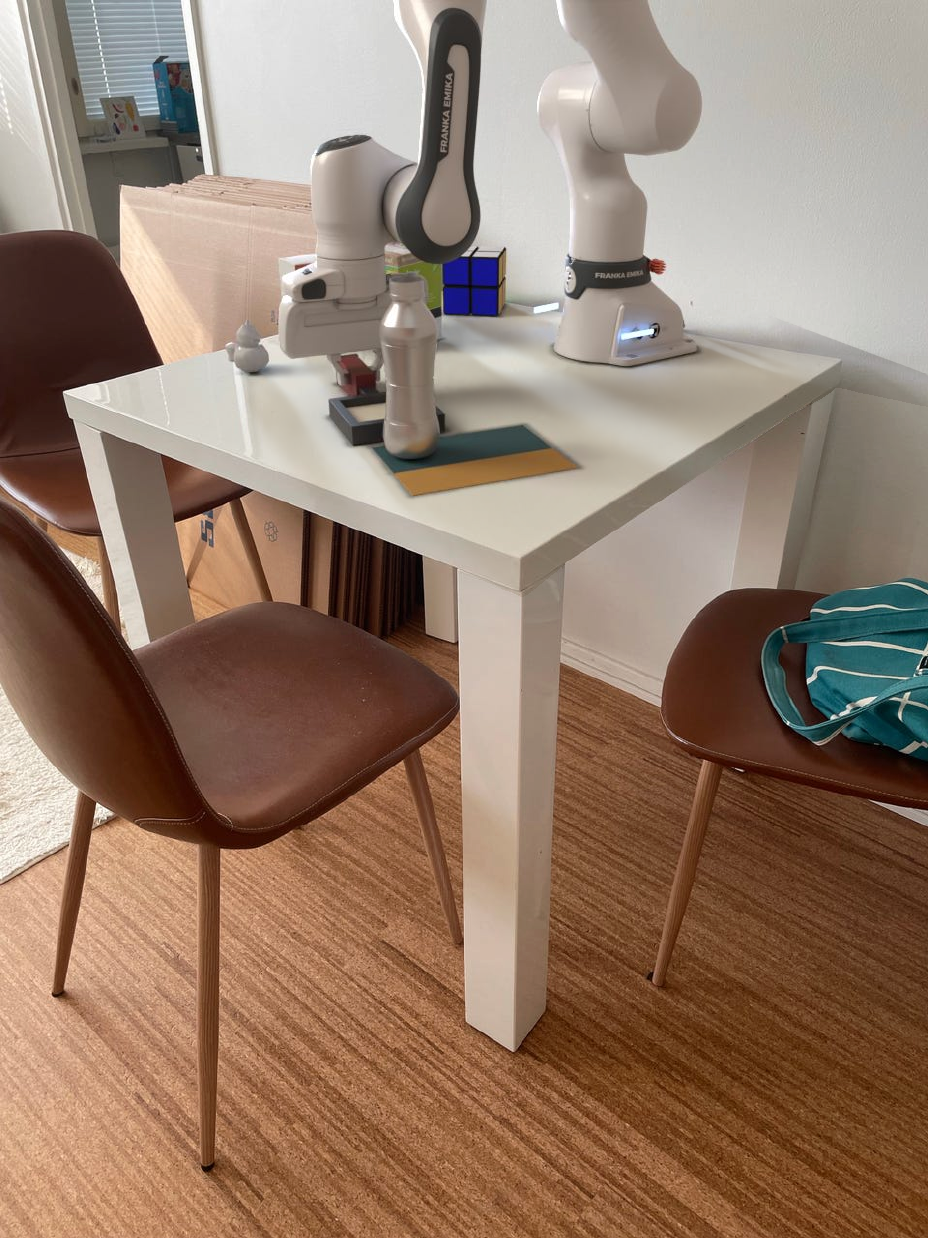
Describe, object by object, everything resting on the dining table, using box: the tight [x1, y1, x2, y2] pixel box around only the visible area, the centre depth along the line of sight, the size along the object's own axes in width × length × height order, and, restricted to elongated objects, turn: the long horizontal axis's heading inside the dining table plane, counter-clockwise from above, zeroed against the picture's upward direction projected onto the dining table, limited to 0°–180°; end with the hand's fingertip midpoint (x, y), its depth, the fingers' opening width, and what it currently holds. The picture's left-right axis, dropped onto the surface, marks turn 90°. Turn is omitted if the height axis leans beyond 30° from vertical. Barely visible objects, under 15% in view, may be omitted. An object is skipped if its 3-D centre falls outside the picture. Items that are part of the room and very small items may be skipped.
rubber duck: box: [224, 316, 270, 373], centre depth 137 cm, size 5×7×8 cm
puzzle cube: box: [441, 245, 507, 317], centre depth 167 cm, size 10×10×10 cm
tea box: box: [385, 242, 443, 340], centre depth 150 cm, size 15×10×15 cm
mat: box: [372, 424, 578, 497], centre depth 110 cm, size 20×15×1 cm
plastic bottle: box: [379, 276, 441, 459], centre depth 105 cm, size 6×7×20 cm
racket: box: [328, 353, 446, 446], centre depth 123 cm, size 24×12×4 cm, turn 22°
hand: (358, 382), depth 128 cm, fingers closed on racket, 3 cm apart
